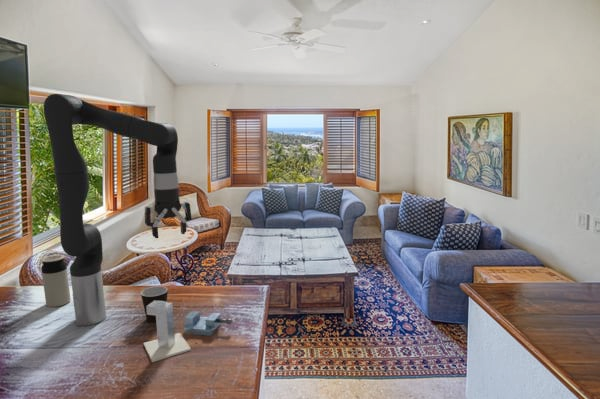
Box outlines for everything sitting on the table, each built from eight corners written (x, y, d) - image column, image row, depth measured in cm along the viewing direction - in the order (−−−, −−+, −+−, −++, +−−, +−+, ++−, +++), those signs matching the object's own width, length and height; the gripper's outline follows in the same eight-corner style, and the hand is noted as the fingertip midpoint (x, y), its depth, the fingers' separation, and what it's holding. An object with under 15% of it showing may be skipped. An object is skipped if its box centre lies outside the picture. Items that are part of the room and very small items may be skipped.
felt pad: (152, 362, 111) (151, 360, 111) (143, 344, 120) (143, 343, 120) (190, 350, 117) (190, 348, 117) (179, 334, 126) (179, 332, 126)
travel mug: (74, 301, 151) (69, 256, 148) (52, 309, 145) (46, 262, 141) (64, 296, 155) (58, 253, 152) (42, 304, 149) (35, 258, 146)
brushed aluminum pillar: (165, 341, 121) (161, 295, 118) (175, 342, 120) (171, 296, 117) (150, 355, 113) (146, 306, 111) (161, 356, 113) (157, 307, 110)
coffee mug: (161, 325, 132) (158, 297, 130) (138, 323, 133) (135, 295, 132) (178, 310, 143) (176, 283, 141) (156, 308, 145) (154, 282, 143)
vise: (194, 321, 134) (193, 308, 134) (237, 325, 131) (236, 312, 130) (182, 333, 127) (181, 319, 126) (227, 337, 124) (227, 324, 123)
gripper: (184, 183, 133) (187, 230, 136) (140, 187, 126) (144, 236, 129) (192, 186, 127) (194, 234, 130) (145, 190, 119) (149, 242, 122)
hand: (169, 235), depth 129 cm, fingers open, 8 cm apart
